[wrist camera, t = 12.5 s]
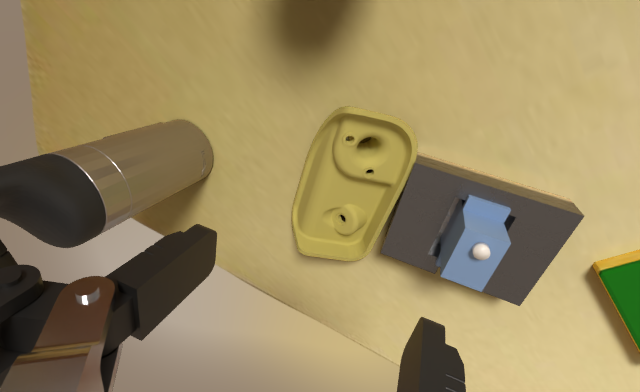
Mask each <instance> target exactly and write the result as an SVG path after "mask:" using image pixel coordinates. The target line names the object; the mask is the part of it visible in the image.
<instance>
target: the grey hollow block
mask: <svg viewBox="0 0 640 392" xmlns="http://www.w3.org/2000/svg"><path fill="white" fill-rule="evenodd" d="M468 195H472V196H475V197H478V198H481V199H484V200H487V201H490V202H493V203H497V204H500V205H503V206H506V207H509V208H510V209H511V212H510V213H509V215H508V217H507V218H506V220H505V222H504V225H505V228H506V231H507V233H508V236H509V239H510V242H511V245H510V246H509V248H508V250H507V251H506V253H505V255H504V256H503V258H502V259H501V261H500V263H499V264H498V266H497V268H496V269H495V271H494V273H493V274H492V276H491V277H490V279H489V281H488V282H487V284H486V286H485V287H484V289H483V290H482V292H484V293H487V294H489V295H492V296H495V297H497V298H500V299H502V300H505V301H508V302H510V303H513V304H516V305H518V306H520V305H521V303H522V302H523V301H524V299H525V298H526V297H527V295H528V294H529V292H530V291H531V290H532V288H533V287H534V285H535V284H536V283H537V281H538V280H539V278H540V277H541V276H542V274H543V273H544V272H545V270H546V269H547V267H548V266H549V265H550V263H551V262H552V260H553V259H554V258H555V256H556V255H557V253H558V252H559V251H560V249H561V248H562V247H563V245H564V244H565V242H566V241H567V240H568V238H569V237H570V235H571V234H572V233H573V231H574V230H575V228H576V227H577V226H578V224H579V223H580V222H581V220H582V219H583V217H584V215H583V214H582V213H581V212H580V210H579V209H578V208H577V207H576V206H575V205H574V203H573V202H572V201H571V200H570V199H569V198H565V197H562V196H559V195H556V194H552V193H549V192H546V191H543V190H539V189H536V188H533V187H530V186H526V185H523V184H520V183H517V182H513V181H510V180H507V179H504V178H500V177H497V176H494V175H491V174H487V173H484V172H481V171H478V170H474V169H471V168H468V167H465V166H461V165H458V164H455V163H452V162H448V161H445V160H442V159H439V158H435V157H432V156H429V155H426V154H422V153H419V152H417V156H416V160H415V163H414V166H413V168H412V171H411V173H410V175H409V177H408V180H407V182H406V184H405V186H404V189H403V191H402V194H401V197H400V199H399V202H398V205H397V207H396V210H395V213H394V215H393V218H392V220H391V223H390V226H389V228H388V231H387V234H386V236H385V240H384V243H383V246H382V250H381V253H382V254H384V255H387V256H390V257H392V258H395V259H397V260H400V261H403V262H405V263H408V264H411V265H413V266H416V267H418V268H421V269H424V270H426V271H429V272H432V273H434V274H435V273H436V271H437V269H438V267H439V266H436V260H437V258H438V256H439V254H440V252H441V237H442V235H443V232H444V230H445V228H446V226H447V224H448V222H449V220H450V218H451V216H452V214H453V211H454V209H455V207H456V205H457V203H458V201H459V199H463V200H466V199H467V197H468Z"/></svg>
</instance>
